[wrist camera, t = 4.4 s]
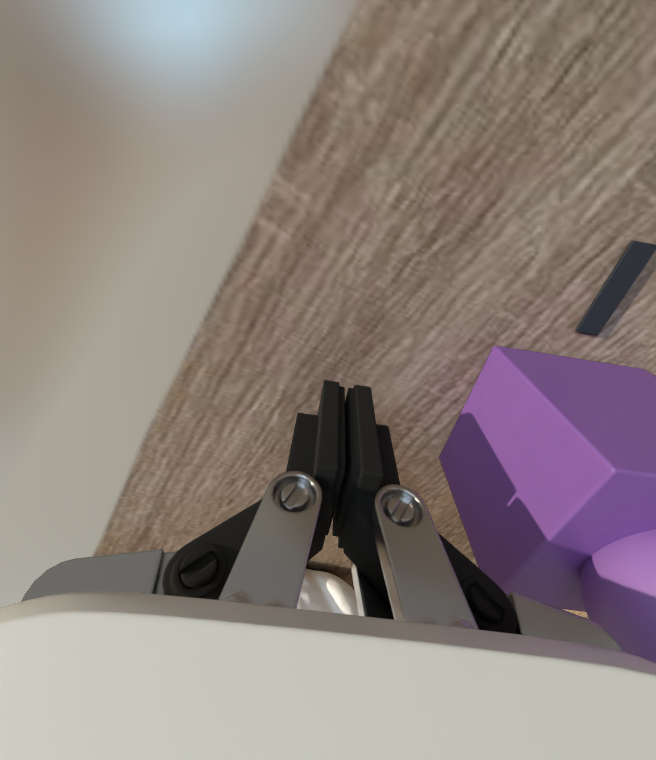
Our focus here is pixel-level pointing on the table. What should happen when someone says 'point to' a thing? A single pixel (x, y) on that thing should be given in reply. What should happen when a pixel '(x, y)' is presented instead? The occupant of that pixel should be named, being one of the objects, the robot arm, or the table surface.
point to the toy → (563, 486)
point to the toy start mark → (616, 286)
